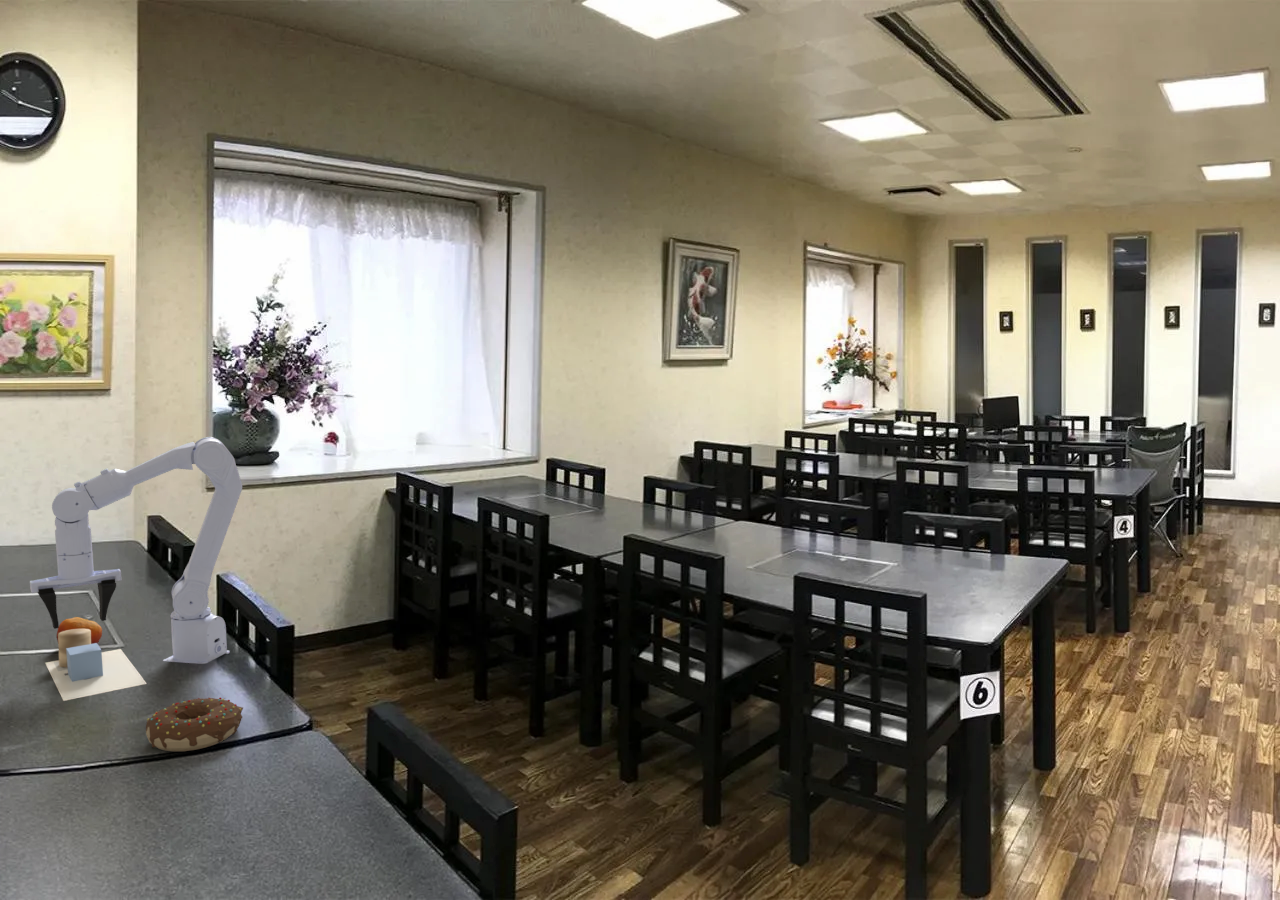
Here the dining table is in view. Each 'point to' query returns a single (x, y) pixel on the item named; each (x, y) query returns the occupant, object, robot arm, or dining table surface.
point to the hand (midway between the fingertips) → (79, 623)
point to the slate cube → (84, 662)
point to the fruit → (82, 627)
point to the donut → (193, 724)
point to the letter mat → (114, 677)
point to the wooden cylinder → (71, 642)
